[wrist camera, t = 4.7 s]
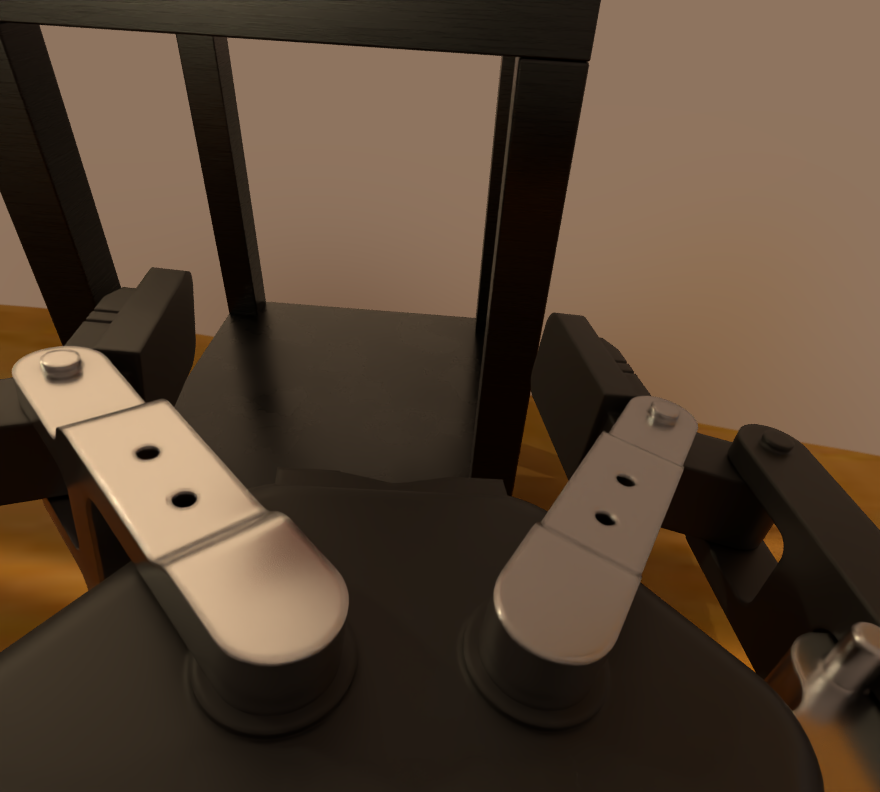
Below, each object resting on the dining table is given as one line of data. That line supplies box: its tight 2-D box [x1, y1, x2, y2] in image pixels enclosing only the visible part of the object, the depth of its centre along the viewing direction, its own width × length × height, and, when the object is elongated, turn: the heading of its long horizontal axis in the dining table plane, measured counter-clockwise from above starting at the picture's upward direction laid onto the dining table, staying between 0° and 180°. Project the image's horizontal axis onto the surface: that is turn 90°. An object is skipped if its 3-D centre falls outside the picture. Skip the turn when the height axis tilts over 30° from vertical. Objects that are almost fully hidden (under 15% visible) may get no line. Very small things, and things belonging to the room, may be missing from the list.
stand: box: [0, 0, 601, 497], centre depth 33 cm, size 19×18×32 cm
